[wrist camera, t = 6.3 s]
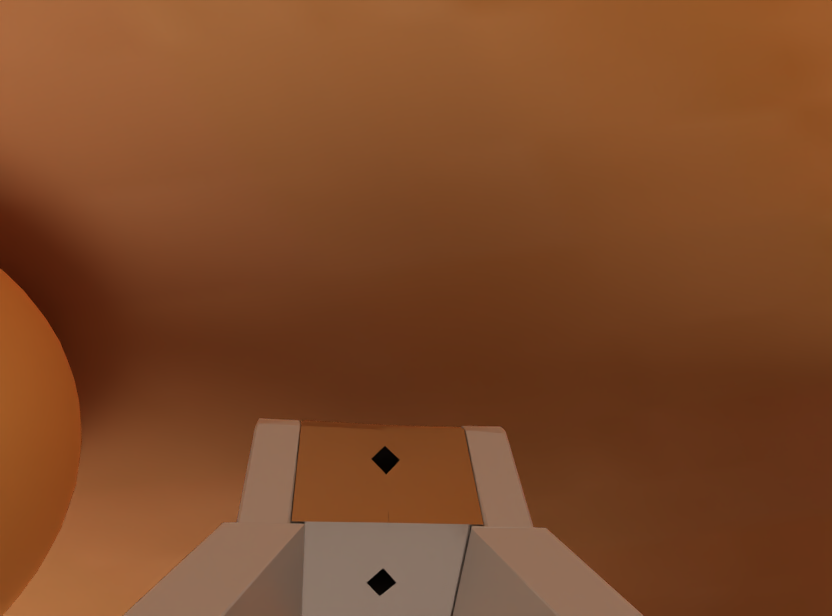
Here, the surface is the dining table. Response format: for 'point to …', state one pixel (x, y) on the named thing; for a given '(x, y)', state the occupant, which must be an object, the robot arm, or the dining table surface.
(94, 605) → the dining table surface
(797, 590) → the dining table surface
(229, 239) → the dining table surface
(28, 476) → the ball
